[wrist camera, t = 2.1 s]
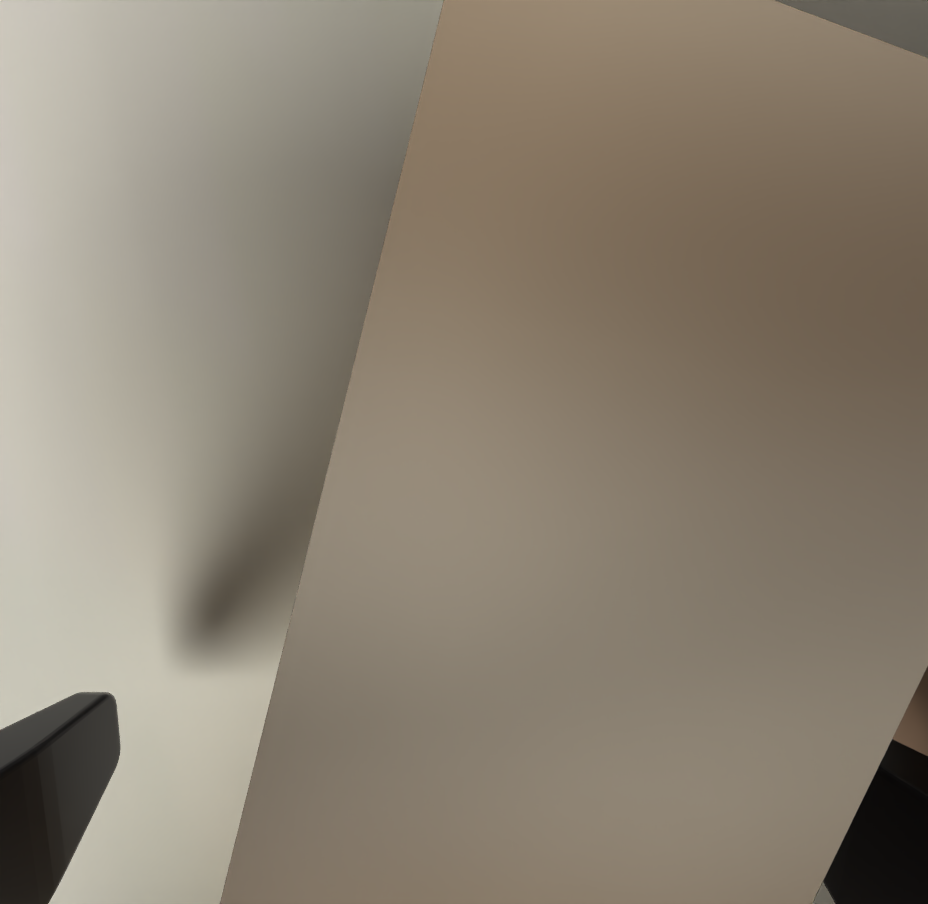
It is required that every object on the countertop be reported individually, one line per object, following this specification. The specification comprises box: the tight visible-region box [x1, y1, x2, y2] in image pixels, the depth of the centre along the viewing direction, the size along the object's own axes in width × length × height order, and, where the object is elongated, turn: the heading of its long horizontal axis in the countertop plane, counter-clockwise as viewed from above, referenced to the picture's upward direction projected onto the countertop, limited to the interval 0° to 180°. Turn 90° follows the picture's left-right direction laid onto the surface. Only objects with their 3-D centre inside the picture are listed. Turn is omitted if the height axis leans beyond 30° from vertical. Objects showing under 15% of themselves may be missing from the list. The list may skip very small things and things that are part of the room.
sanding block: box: [220, 0, 928, 904], centre depth 7 cm, size 14×4×5 cm, turn 164°
